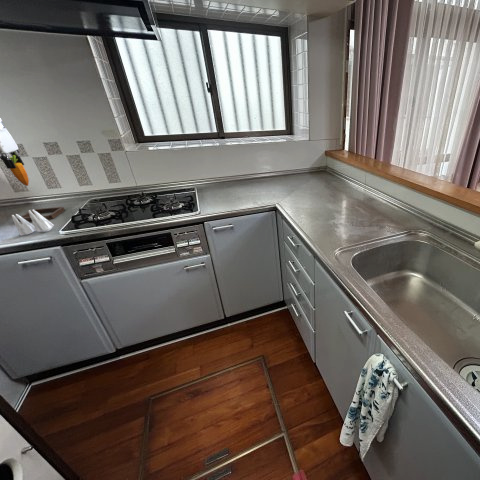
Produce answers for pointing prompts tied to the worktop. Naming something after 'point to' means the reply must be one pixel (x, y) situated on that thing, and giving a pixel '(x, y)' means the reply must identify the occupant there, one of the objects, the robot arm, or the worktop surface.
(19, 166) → the carrot
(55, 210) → the frame
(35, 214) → the shaker set
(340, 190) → the worktop surface
